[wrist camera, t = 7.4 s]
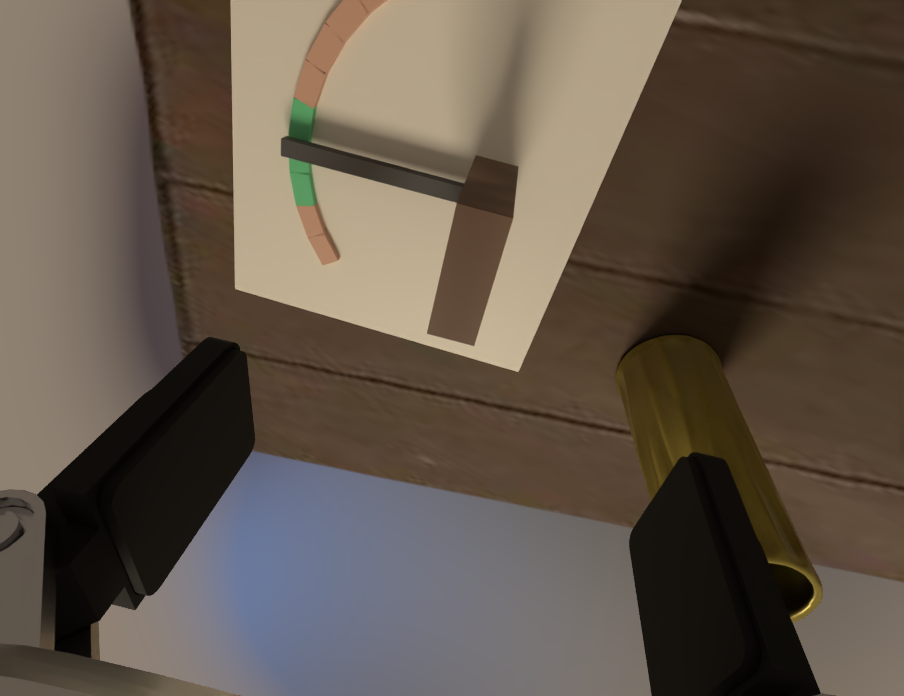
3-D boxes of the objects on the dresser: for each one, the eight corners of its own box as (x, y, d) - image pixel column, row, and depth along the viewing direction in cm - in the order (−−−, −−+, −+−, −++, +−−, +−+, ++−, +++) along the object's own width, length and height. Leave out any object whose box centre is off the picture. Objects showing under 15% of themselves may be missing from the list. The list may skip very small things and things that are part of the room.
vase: (666, 315, 28) (758, 529, 17) (742, 366, 29) (877, 599, 18) (595, 380, 32) (630, 596, 20) (666, 423, 33) (737, 651, 21)
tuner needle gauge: (526, 149, 22) (522, 221, 15) (497, 247, 25) (481, 348, 18) (290, 86, 22) (167, 126, 15) (288, 192, 25) (184, 270, 18)
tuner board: (681, -20, 20) (694, -22, 18) (519, 357, 31) (518, 376, 30) (247, -161, 19) (222, -176, 17) (246, 277, 31) (231, 292, 29)
